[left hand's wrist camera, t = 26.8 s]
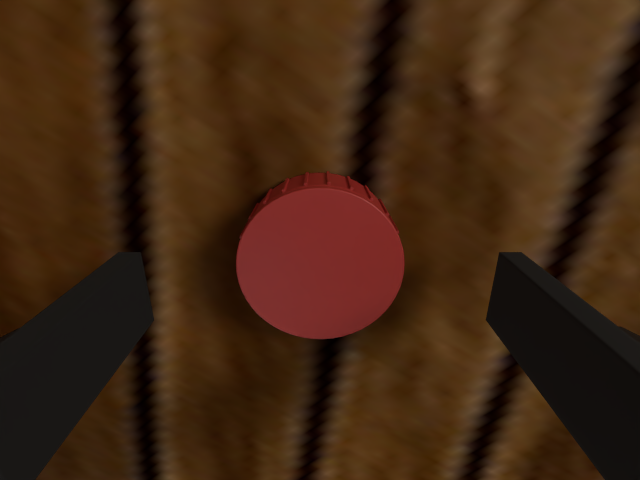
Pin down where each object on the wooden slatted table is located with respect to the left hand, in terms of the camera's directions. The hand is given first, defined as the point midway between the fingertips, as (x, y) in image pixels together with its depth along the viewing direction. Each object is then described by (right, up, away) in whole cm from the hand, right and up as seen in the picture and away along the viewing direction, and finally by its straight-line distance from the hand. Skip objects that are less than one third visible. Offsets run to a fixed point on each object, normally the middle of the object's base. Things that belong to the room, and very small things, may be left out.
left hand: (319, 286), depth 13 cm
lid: (0, +1, 0) cm, 1 cm away
